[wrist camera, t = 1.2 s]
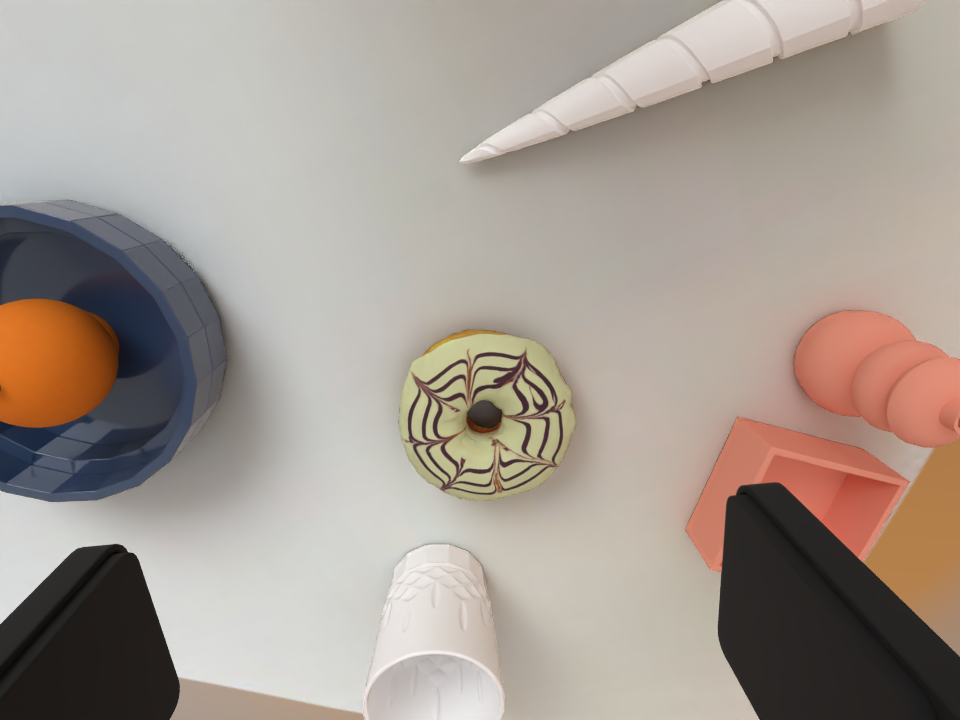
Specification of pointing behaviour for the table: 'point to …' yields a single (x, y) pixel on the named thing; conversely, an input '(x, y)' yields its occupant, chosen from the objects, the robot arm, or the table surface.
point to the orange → (53, 362)
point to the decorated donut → (477, 450)
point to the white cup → (435, 643)
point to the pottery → (830, 465)
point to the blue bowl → (142, 349)
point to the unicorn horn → (694, 61)
